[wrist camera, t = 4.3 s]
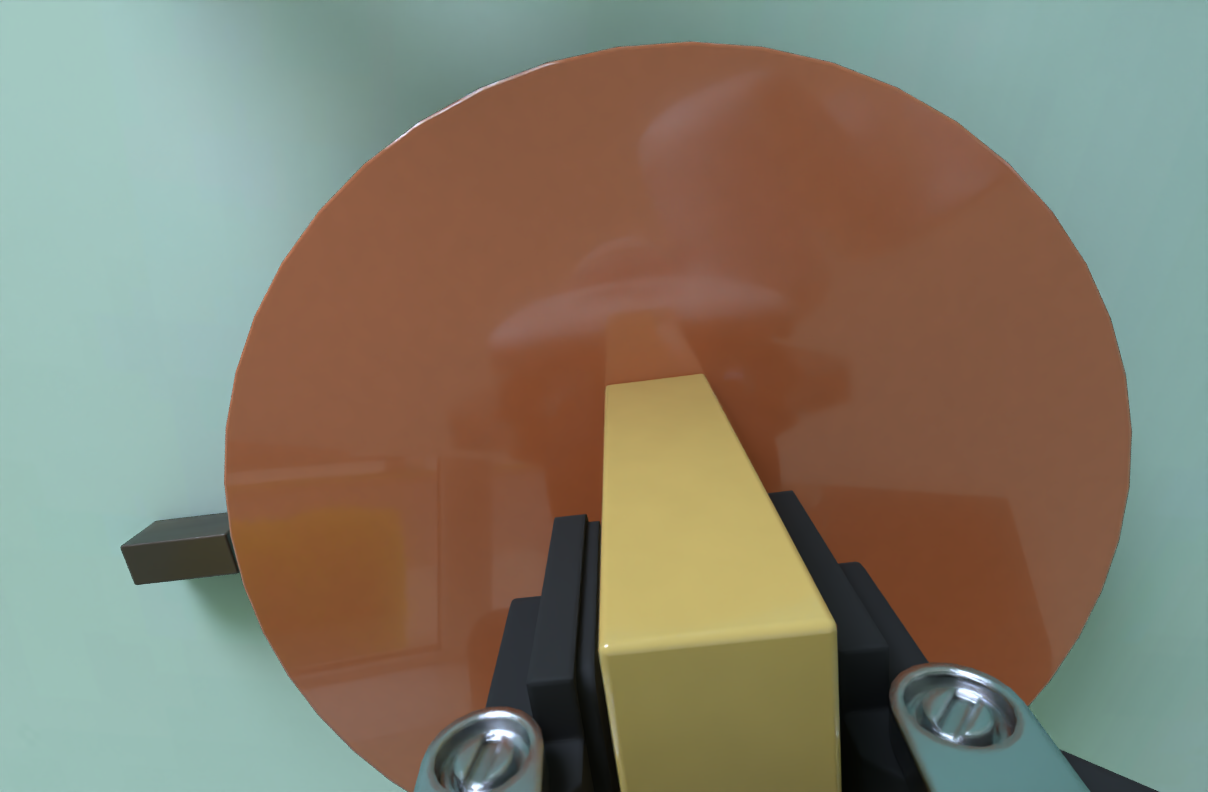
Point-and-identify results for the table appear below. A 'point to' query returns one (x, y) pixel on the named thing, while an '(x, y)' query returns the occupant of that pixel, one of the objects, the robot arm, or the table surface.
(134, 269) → the table surface
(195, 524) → the dark grey rectangular block
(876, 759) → the robot arm
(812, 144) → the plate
